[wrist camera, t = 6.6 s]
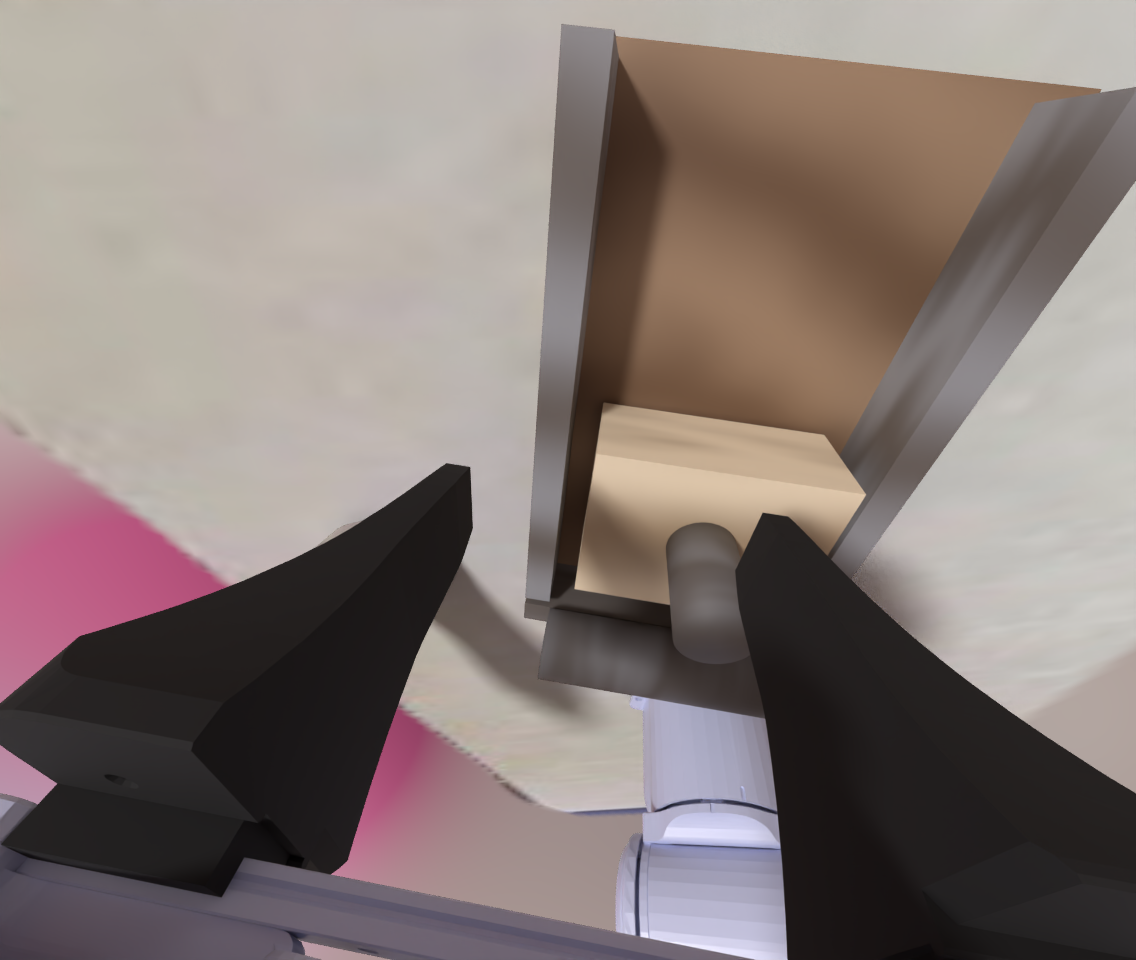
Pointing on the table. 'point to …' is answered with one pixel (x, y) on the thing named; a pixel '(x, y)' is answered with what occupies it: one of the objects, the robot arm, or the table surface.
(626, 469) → the tan wooden block
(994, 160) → the bay
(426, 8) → the table surface
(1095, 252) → the table surface
